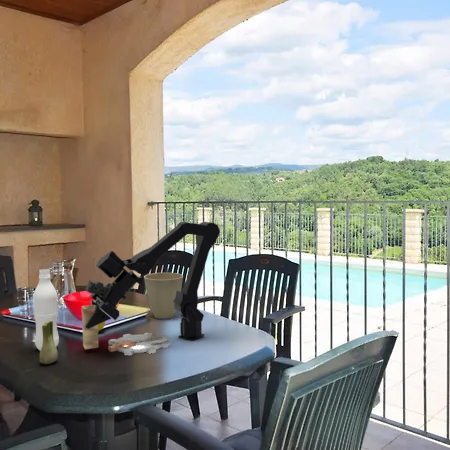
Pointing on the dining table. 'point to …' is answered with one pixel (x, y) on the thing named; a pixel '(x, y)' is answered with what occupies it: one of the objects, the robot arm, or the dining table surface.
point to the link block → (92, 333)
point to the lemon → (101, 326)
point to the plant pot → (163, 293)
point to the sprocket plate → (138, 343)
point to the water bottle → (45, 307)
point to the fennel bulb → (48, 345)
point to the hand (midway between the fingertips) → (85, 326)
